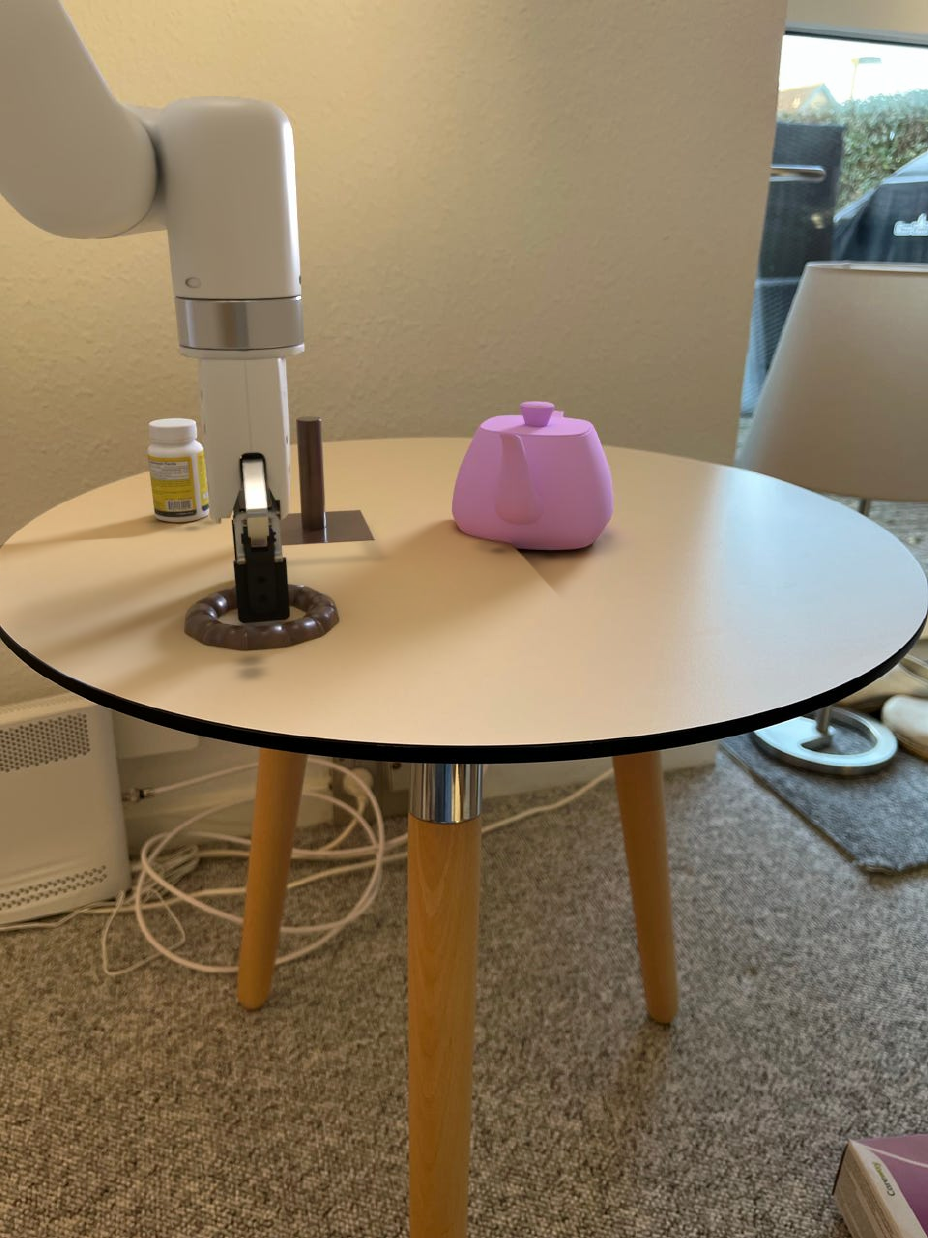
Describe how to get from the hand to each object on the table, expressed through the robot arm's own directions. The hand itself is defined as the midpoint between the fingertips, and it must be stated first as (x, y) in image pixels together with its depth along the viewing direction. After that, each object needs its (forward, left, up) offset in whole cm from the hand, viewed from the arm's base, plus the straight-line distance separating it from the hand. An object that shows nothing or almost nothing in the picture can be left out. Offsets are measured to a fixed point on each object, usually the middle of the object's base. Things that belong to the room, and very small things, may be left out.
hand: (261, 594), depth 66 cm
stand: (+5, +16, -1) cm, 17 cm away
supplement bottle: (-6, +25, -2) cm, 26 cm away
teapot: (+23, +13, -2) cm, 26 cm away
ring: (0, -4, 0) cm, 4 cm away
